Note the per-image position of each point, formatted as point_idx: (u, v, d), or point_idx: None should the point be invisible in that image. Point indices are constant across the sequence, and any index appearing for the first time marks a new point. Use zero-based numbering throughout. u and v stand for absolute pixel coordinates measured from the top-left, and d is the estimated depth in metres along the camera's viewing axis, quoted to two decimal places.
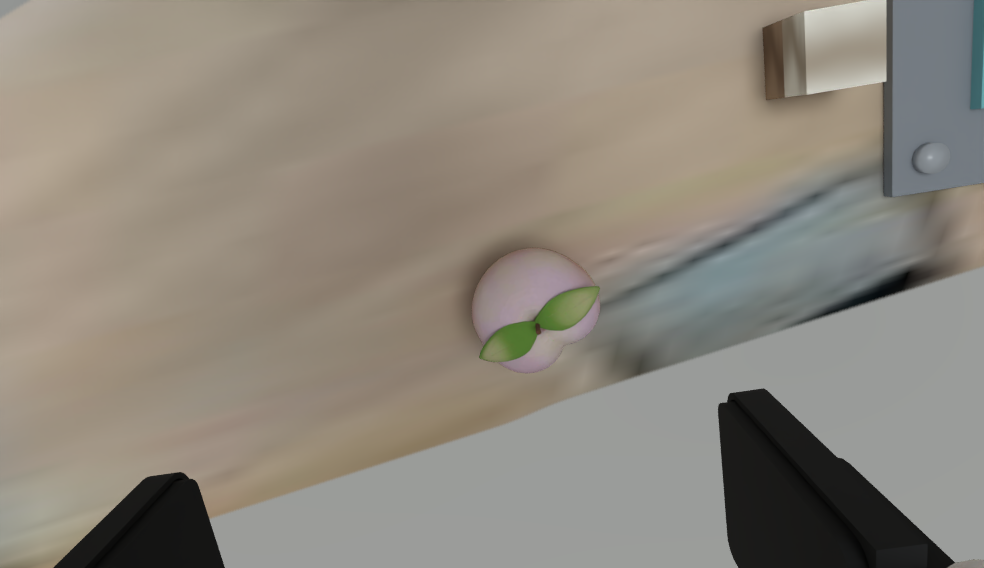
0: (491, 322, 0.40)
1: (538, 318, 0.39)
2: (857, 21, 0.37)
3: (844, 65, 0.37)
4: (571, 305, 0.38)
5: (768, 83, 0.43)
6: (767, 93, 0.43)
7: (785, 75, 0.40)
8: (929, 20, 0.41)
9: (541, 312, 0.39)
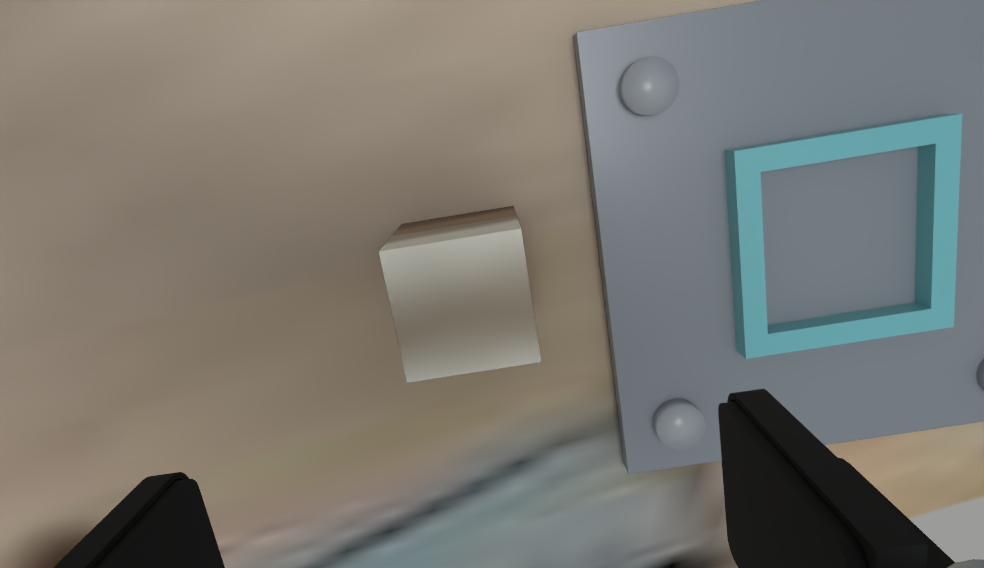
0: None
1: None
2: (476, 267, 0.21)
3: (464, 338, 0.21)
4: None
5: None
6: None
7: None
8: (658, 220, 0.25)
9: None
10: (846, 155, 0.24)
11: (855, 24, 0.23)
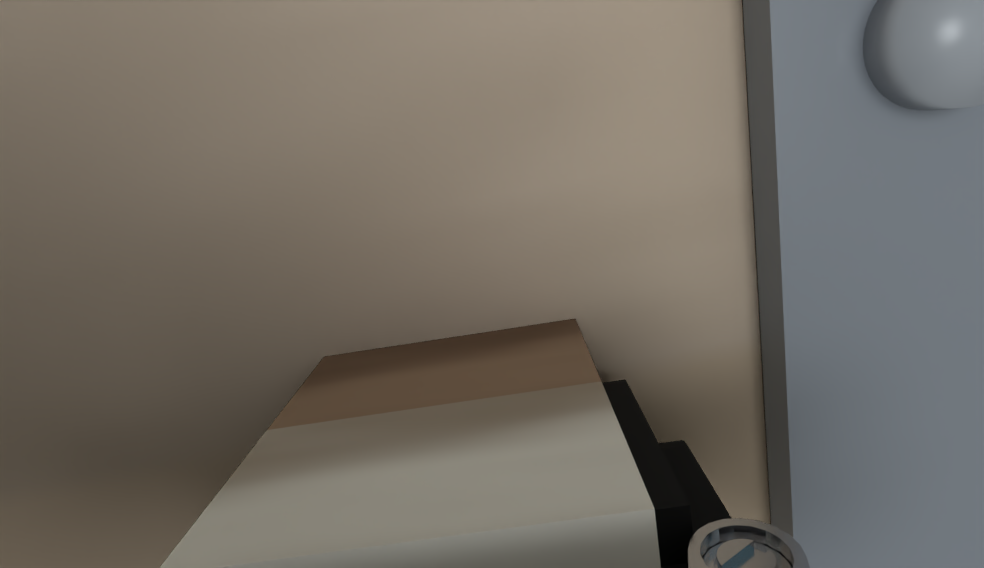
0: None
1: None
2: None
3: None
4: None
5: None
6: None
7: None
8: (929, 362, 0.11)
9: None
10: None
11: None
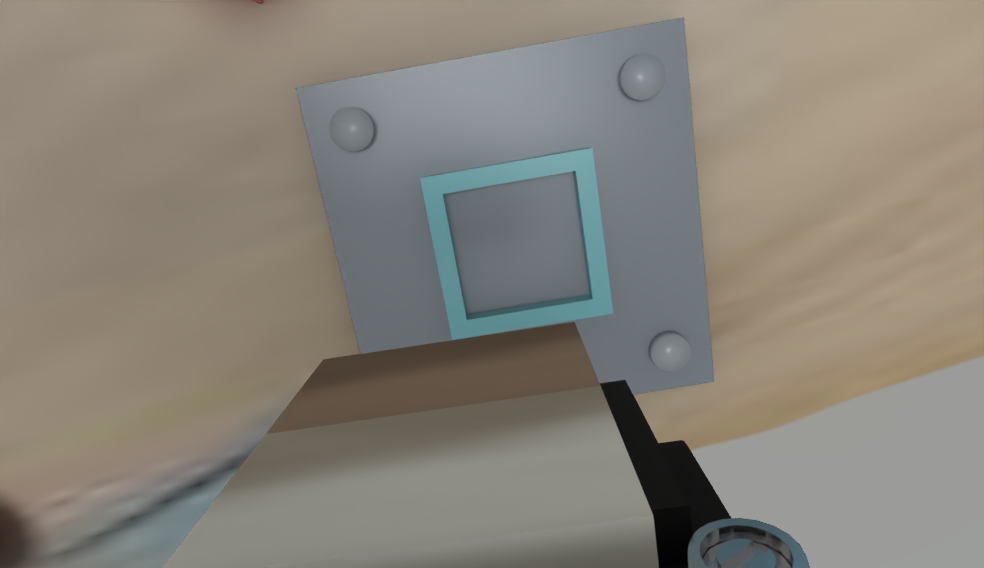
0: None
1: None
2: None
3: None
4: None
5: None
6: None
7: None
8: (377, 231, 0.32)
9: None
10: (507, 180, 0.31)
11: (510, 79, 0.30)
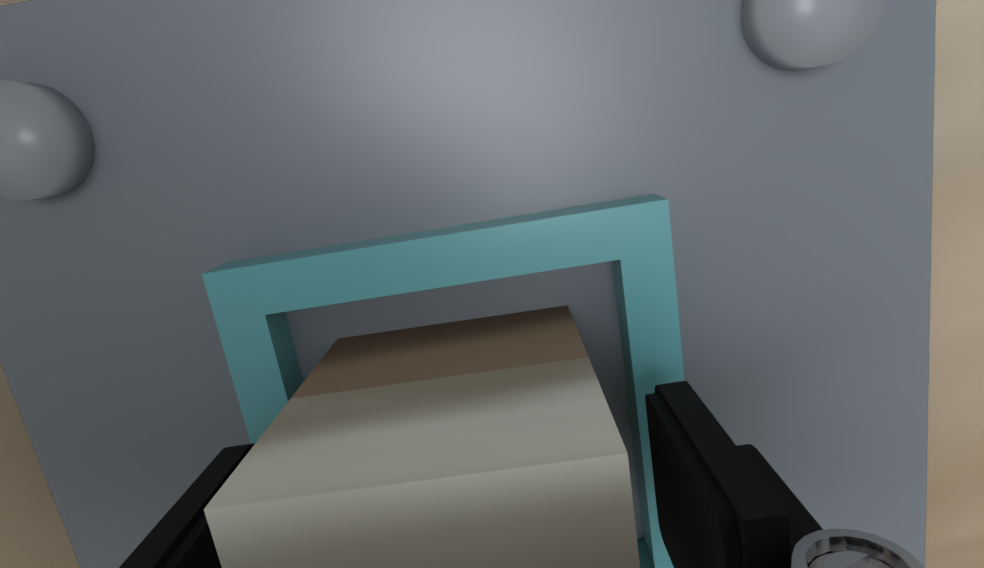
0: None
1: None
2: (491, 555, 0.07)
3: None
4: None
5: None
6: None
7: None
8: (125, 391, 0.13)
9: None
10: (436, 282, 0.11)
11: (444, 10, 0.11)
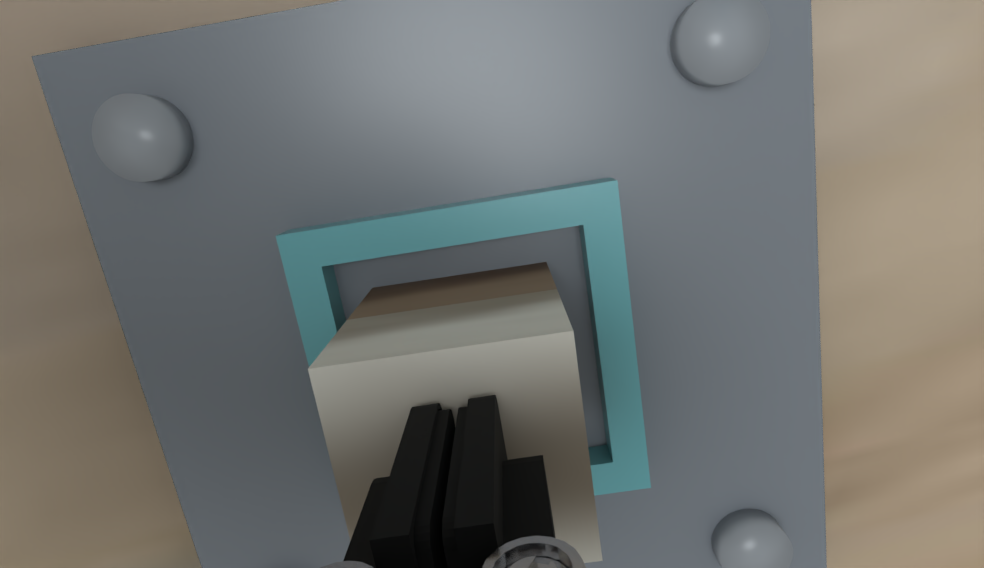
0: None
1: None
2: None
3: None
4: None
5: None
6: None
7: None
8: (210, 329, 0.17)
9: None
10: (448, 242, 0.16)
11: (454, 42, 0.15)
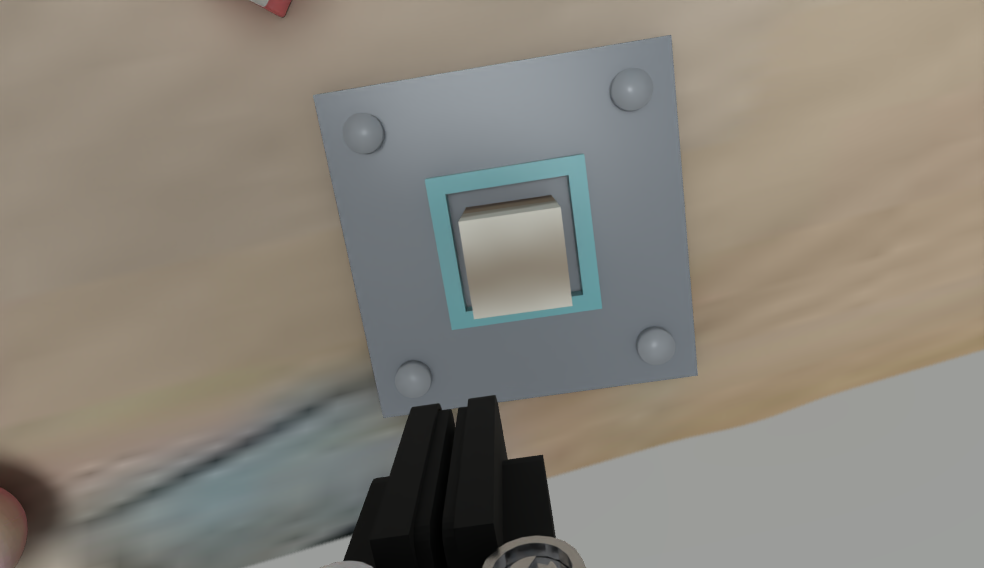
0: None
1: None
2: (527, 234, 0.29)
3: (516, 286, 0.29)
4: None
5: None
6: None
7: None
8: (384, 228, 0.35)
9: None
10: (505, 183, 0.33)
11: (509, 90, 0.33)
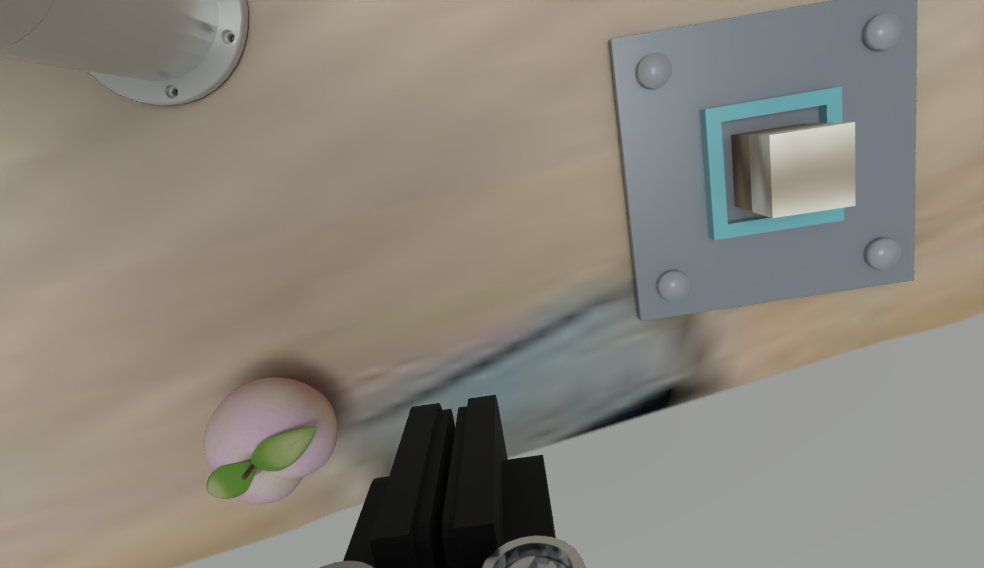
0: (211, 460, 0.40)
1: (252, 459, 0.39)
2: (825, 145, 0.35)
3: (811, 190, 0.36)
4: (281, 448, 0.38)
5: (737, 191, 0.41)
6: (736, 200, 0.42)
7: (752, 190, 0.39)
8: (659, 153, 0.41)
9: (253, 454, 0.39)
10: (772, 111, 0.40)
11: (777, 33, 0.39)
